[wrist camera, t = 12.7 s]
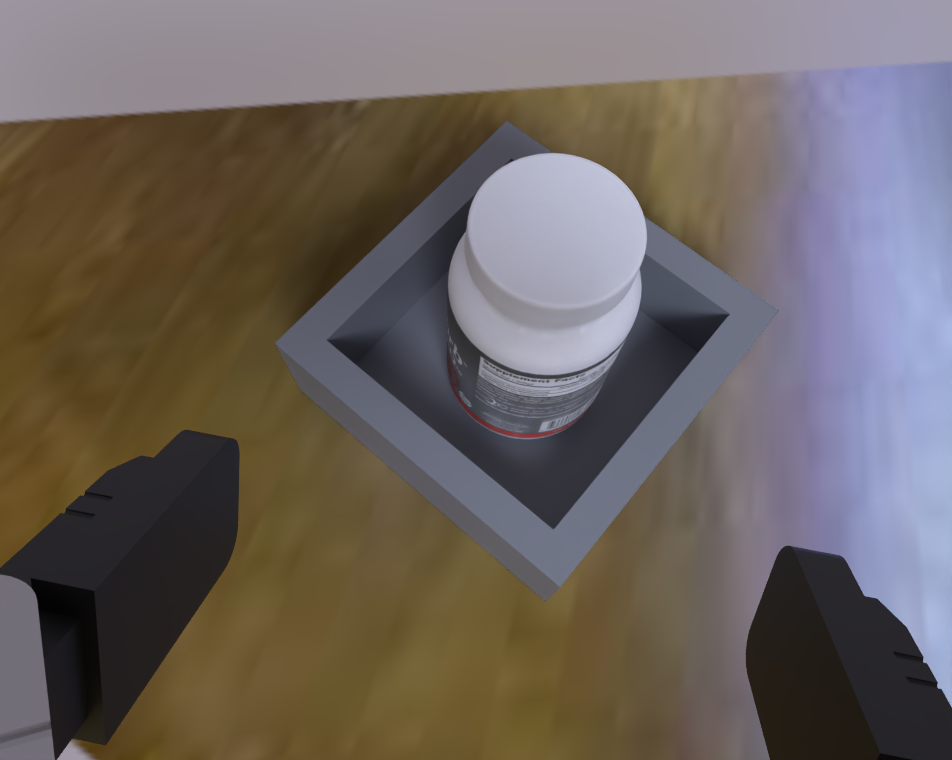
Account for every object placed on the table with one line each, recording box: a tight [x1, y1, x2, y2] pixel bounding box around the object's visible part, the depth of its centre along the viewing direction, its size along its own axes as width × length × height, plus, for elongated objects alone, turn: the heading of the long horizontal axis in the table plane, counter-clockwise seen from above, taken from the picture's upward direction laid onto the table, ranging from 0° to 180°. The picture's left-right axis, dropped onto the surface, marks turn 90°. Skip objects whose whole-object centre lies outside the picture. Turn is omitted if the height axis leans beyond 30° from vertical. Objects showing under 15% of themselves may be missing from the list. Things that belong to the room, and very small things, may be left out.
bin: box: [275, 121, 779, 601], centre depth 28 cm, size 12×12×4 cm
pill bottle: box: [447, 153, 647, 439], centre depth 25 cm, size 6×6×10 cm
